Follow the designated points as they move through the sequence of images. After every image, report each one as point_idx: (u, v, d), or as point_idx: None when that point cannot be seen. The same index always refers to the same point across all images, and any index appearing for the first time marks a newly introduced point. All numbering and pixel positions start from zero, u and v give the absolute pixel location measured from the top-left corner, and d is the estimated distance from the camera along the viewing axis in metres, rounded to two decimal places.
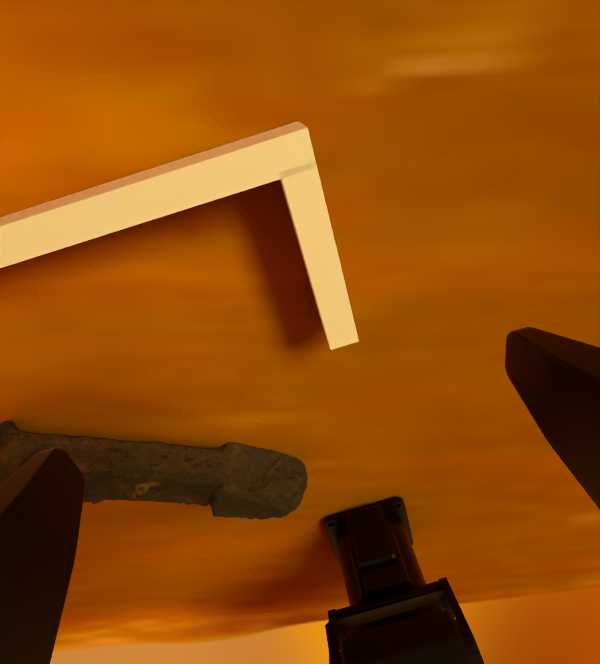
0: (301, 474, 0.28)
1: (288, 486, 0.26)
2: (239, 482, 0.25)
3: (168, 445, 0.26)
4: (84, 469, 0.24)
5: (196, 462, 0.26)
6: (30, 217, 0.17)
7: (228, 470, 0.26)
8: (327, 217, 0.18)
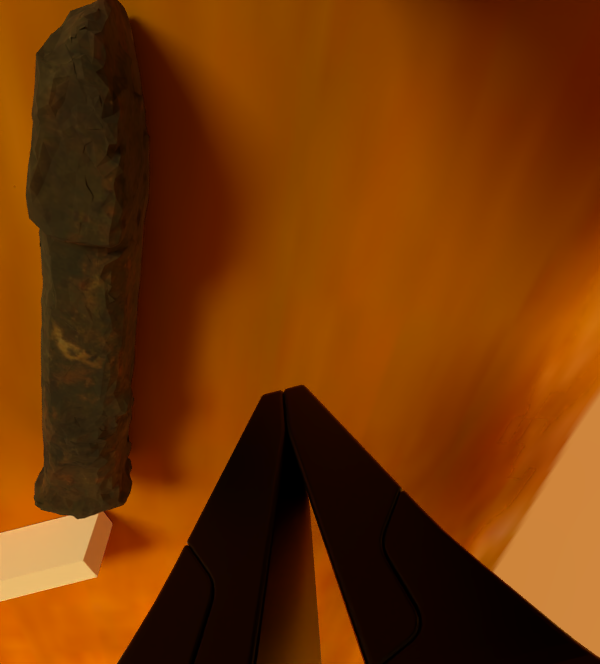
0: None
1: None
2: None
3: None
4: (45, 412, 0.16)
5: None
6: None
7: None
8: None
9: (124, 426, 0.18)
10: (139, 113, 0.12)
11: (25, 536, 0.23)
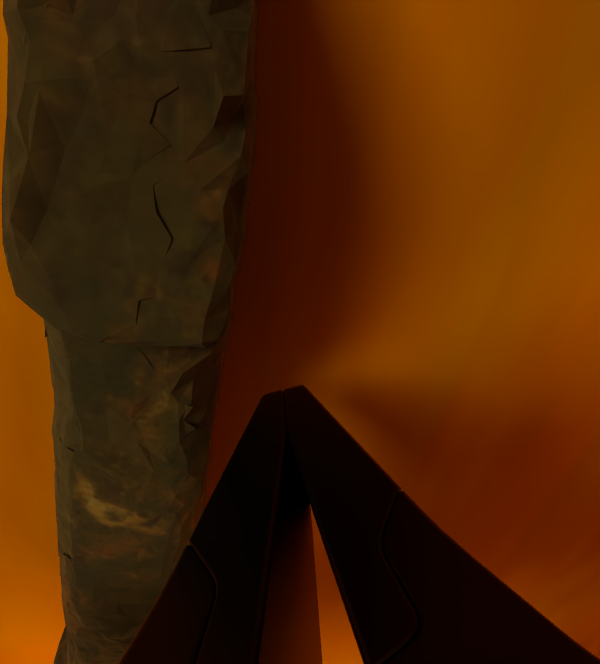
0: None
1: None
2: None
3: None
4: (67, 593, 0.09)
5: None
6: None
7: None
8: None
9: None
10: (255, 37, 0.05)
11: None
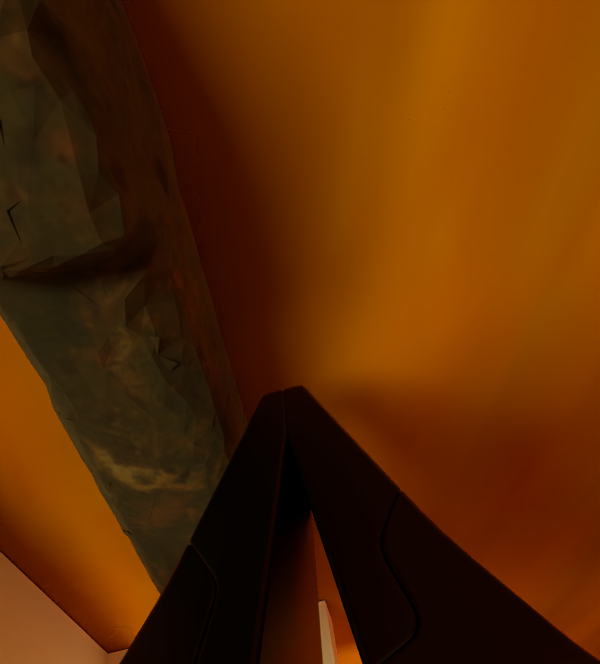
0: None
1: None
2: None
3: None
4: (147, 569, 0.09)
5: None
6: None
7: None
8: None
9: None
10: None
11: None
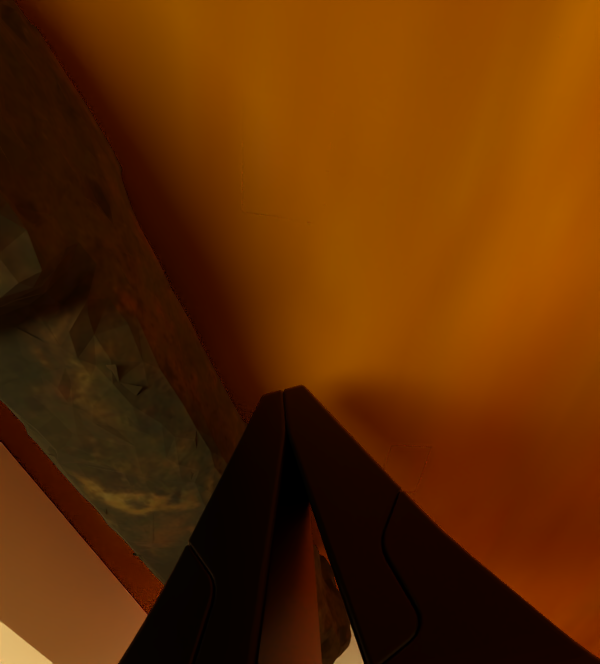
0: None
1: None
2: None
3: None
4: None
5: None
6: None
7: None
8: None
9: None
10: None
11: None
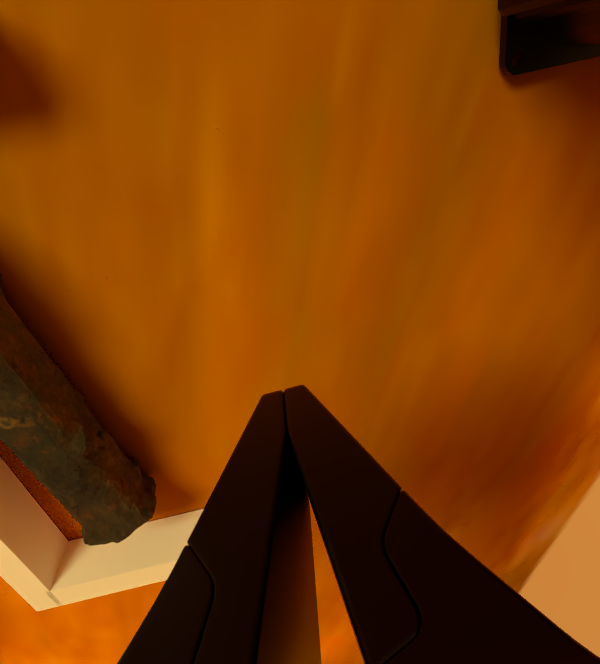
0: None
1: None
2: None
3: None
4: (33, 474, 0.19)
5: None
6: None
7: None
8: None
9: (105, 458, 0.20)
10: None
11: (142, 532, 0.25)
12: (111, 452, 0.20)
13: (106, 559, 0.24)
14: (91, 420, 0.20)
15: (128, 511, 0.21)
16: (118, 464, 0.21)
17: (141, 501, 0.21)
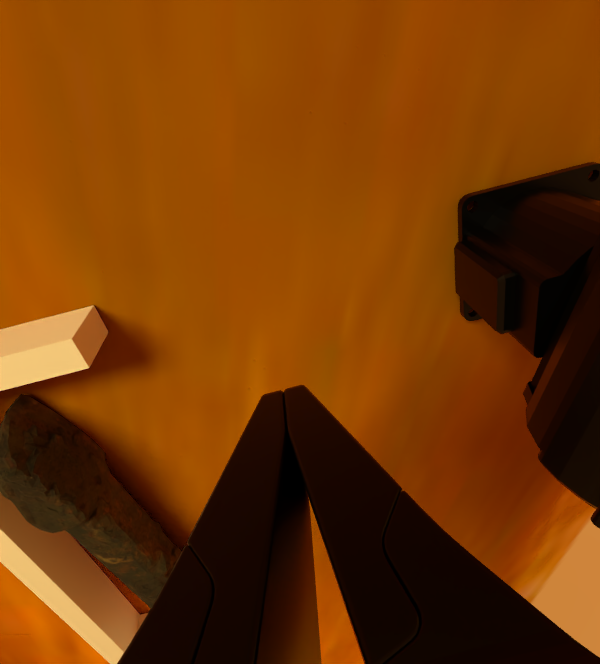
0: None
1: None
2: None
3: None
4: (128, 587, 0.26)
5: None
6: None
7: None
8: None
9: None
10: (57, 445, 0.21)
11: None
12: None
13: None
14: (166, 543, 0.27)
15: None
16: None
17: None
